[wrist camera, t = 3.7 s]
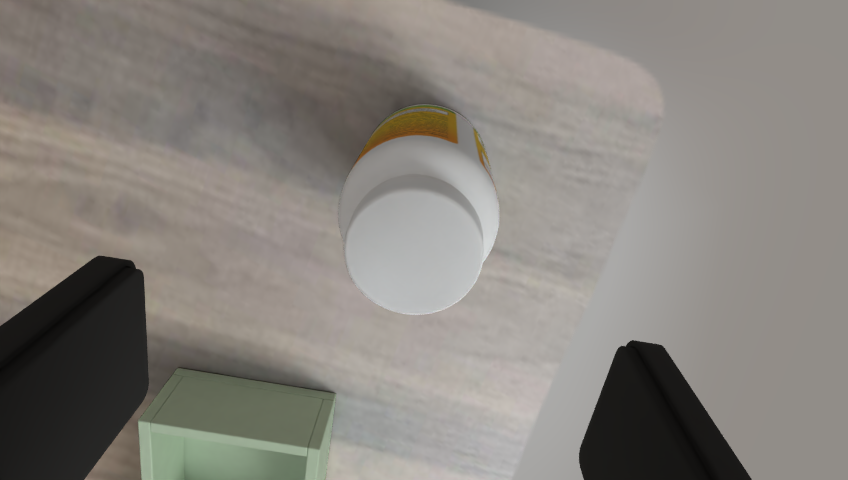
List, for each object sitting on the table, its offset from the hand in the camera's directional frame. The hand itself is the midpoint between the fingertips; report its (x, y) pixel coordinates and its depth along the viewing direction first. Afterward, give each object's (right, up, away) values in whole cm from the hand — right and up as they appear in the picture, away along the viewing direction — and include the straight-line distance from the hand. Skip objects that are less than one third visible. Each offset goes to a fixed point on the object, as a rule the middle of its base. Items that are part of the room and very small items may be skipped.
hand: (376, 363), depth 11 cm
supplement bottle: (+1, +6, +14) cm, 15 cm away
